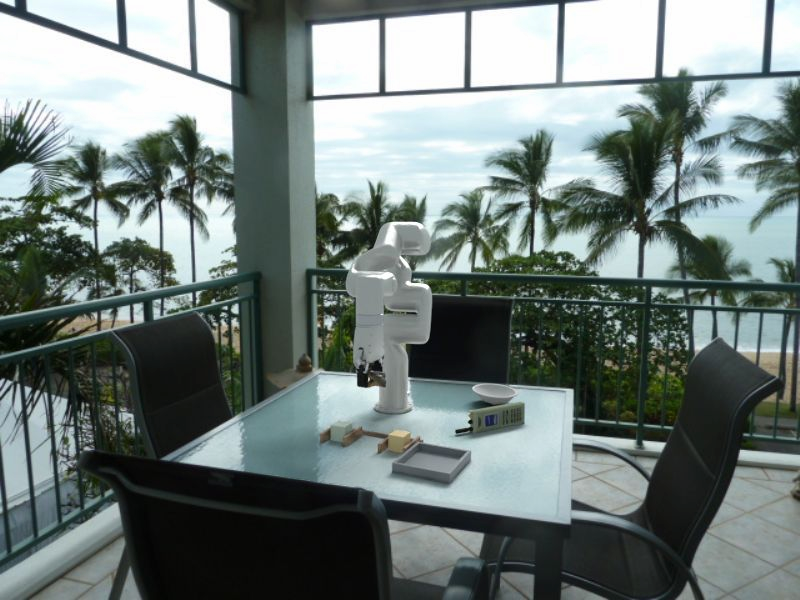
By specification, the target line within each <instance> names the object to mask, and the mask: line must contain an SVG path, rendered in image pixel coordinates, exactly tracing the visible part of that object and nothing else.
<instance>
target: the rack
mask: <svg viewBox="0 0 800 600" xmlns="http://www.w3.org/2000/svg"><path fill="white" fill-rule="evenodd" d="M389 434H390V433H381V432H376V431H372V430H371V431H370V430H365V429H364V428H363V426H359V427H357V428H353V427H352V432H351V433H349V434H347V435H346V436H344V437H343V442H342V447H344V448H346V447H347V446H349V445H350V444H352V443H353V442H355V441H357V440H358V439H359V438H361V437H362V436H364V435H367V436H373V437H379V438H384V439H382V440H381V441H379V442H378V443H377V454H382V453H383V452H384V451H385V450H386V449H387V450H388V435H389ZM329 439H331V426H330V427H329V428H327V429H325V430H323V431H322V432H320V433H319V442H320V443H324V442H326V441H327V440H329ZM417 442H423V443H424V439H421V436H420V435H417V436H416V437H415V438H414V437H413V438H412V437H410V443H408V444H407V445H406V446H405V447H404V448H403V453H405V452H406V451H407V450H408V449H409V448H411V447H412V446H413V445H414V444H416V443H417ZM403 453H402V454H403Z"/></svg>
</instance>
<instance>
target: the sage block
mask: <svg viewBox="0 0 800 600" xmlns="http://www.w3.org/2000/svg"><path fill="white" fill-rule="evenodd" d="M330 427H331V438H330V441H334V442H339V443H343V437H344V436H346V435H347V434H349V433H351V432H352V428H353V422H351V421H345V420H339V419H338V420H337V421H335V422H334V423H331V424H330Z"/></svg>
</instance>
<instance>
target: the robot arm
mask: <svg viewBox="0 0 800 600" xmlns="http://www.w3.org/2000/svg"><path fill="white" fill-rule="evenodd" d="M376 237H377V238H376V241H375V243H374V245H373V248H371V249H369V250H367V251H366V252H364V253H362V254H360V255H359V256H358V257H356V258H355V259H354V260H353V262H352V263H351V265H350V268H349V269H348V273H347V276H346V280H345V289H346V292H347V294H348V295H349V296H350V297H352V298H355V329H354V337H353V351H352V354H353V355H352V357H353V358H352V359H353V360H352V362H353V365H354V368H355V372H356V386H357V387H359V388H365V389H368V388H367V387H368V382H369V378H368V373H367V370H368V369H369V365H370V364H371V370H373V371H379V372H385V374H386V377H385V379H386V387H385V388H384V387H379V386H378V400H379V401H377V402H375V403H374V407H373V408H374V410H376V412H380V413H383V414H396V415H397V414H404V413H408V412H410V411H411V410H413V403H411V402H410V401H409V397H410V396H411V393H412V392H411V391H410V390H409V357H408V353H407V351H406V350H405V348H404V346H403V344H412V345H424V344H426V343H427V342H428V341H429V339H430V333H431V325H432V324H431V323H432V309H433V295H432V294H433V293H432V289H431V287H430V286H429V285H428V284H426V283H416V282H412V269H411V266H410V265H409V263H408V262H407V261H406V260H405V258H404V257H402V256H425V255H427V254H428V253H429V251H430V250H431V244H432V239H431V235H430V232H429V231H428V230H427V228H426V227H425V226H424V225H423V224H422V223H419V222H416V221H391V222H386V223H384V224H383V225H382V226H381V228H380V229H379V232H378V234H377V236H376ZM384 307H385V308H386V309H387V310H388V311H392V312H404V313H386V314H384V313H385V312H384V311H385V310H384V309H385V308H384ZM405 312H406V313H407V312H409V314H408V313H407V314H405ZM411 312H412V313H413V314H410V313H411ZM414 313H416V314H414Z"/></svg>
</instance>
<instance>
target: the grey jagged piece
mask: <svg viewBox="0 0 800 600" xmlns="http://www.w3.org/2000/svg"><path fill="white" fill-rule="evenodd" d="M367 373H368V387H367V388H366V389H370V388H372V387H378V388H379V387H384V388H385V387H386V379H385V377H386V374H385V372H379V371H373V370H372V368H368V370H367Z"/></svg>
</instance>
